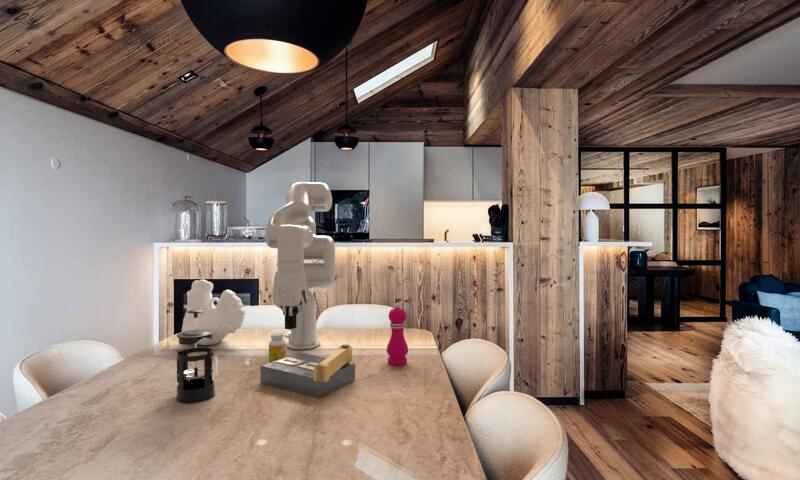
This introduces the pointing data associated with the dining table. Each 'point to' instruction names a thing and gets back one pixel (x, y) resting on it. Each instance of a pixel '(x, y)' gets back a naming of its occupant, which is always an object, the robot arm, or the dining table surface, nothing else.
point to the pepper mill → (397, 337)
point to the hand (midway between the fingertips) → (290, 328)
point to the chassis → (304, 375)
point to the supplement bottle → (277, 347)
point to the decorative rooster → (213, 312)
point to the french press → (196, 380)
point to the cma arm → (333, 363)
